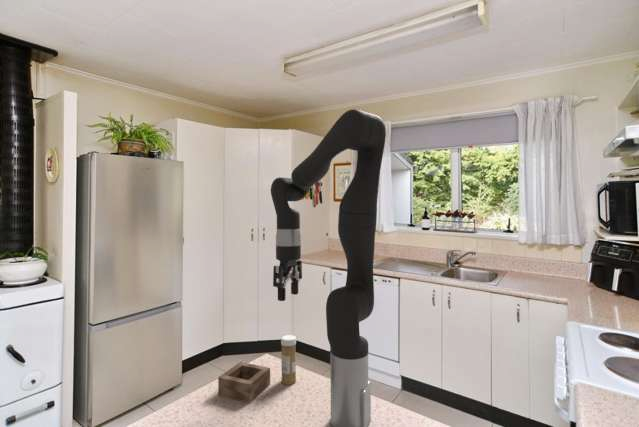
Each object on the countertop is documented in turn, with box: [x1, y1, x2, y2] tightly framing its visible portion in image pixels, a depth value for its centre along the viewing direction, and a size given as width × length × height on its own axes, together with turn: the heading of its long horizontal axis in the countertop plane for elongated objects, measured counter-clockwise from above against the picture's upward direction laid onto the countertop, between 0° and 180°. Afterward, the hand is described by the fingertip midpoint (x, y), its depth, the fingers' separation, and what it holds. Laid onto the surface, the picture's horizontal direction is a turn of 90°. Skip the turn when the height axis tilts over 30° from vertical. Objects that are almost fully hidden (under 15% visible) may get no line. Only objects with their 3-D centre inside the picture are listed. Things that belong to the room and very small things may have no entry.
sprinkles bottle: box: [280, 334, 297, 386], centre depth 102 cm, size 5×5×14 cm
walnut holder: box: [217, 361, 271, 404], centre depth 97 cm, size 10×10×5 cm
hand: (288, 297), depth 102 cm, fingers open, 8 cm apart
